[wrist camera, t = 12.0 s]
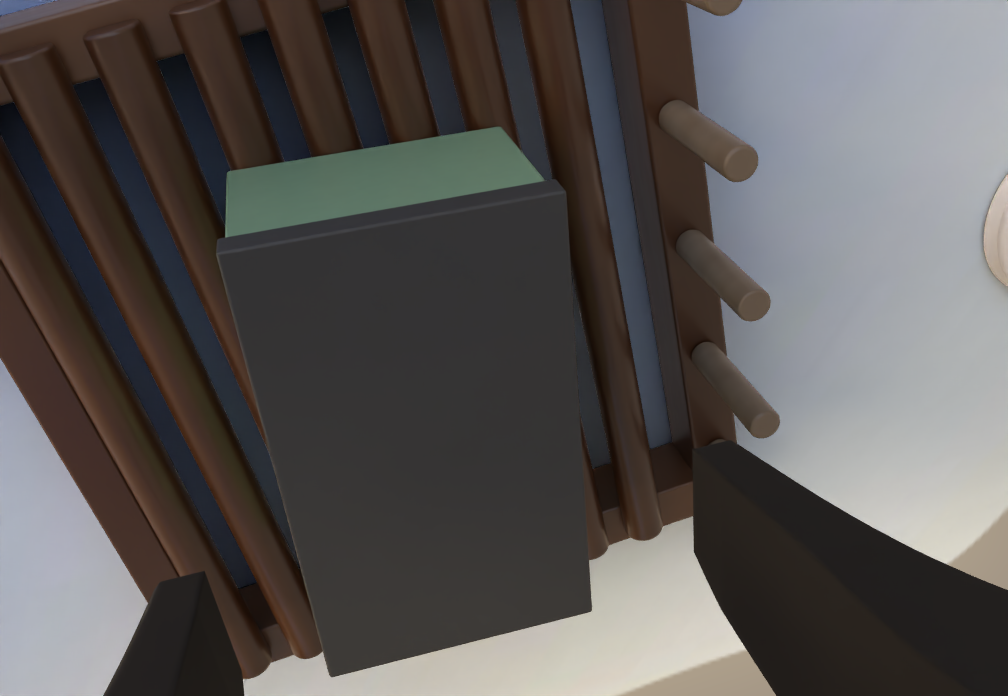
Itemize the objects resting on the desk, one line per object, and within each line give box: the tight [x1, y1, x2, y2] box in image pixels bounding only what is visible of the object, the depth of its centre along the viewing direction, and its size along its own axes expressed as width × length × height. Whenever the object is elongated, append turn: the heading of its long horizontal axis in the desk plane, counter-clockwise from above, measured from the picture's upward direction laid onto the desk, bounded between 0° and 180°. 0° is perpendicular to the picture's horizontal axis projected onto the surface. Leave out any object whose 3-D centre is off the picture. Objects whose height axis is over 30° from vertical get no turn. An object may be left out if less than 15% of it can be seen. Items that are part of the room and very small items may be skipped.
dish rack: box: [0, 0, 780, 679], centre depth 20 cm, size 15×16×5 cm
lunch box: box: [216, 126, 592, 677], centre depth 19 cm, size 5×9×4 cm, turn 5°
